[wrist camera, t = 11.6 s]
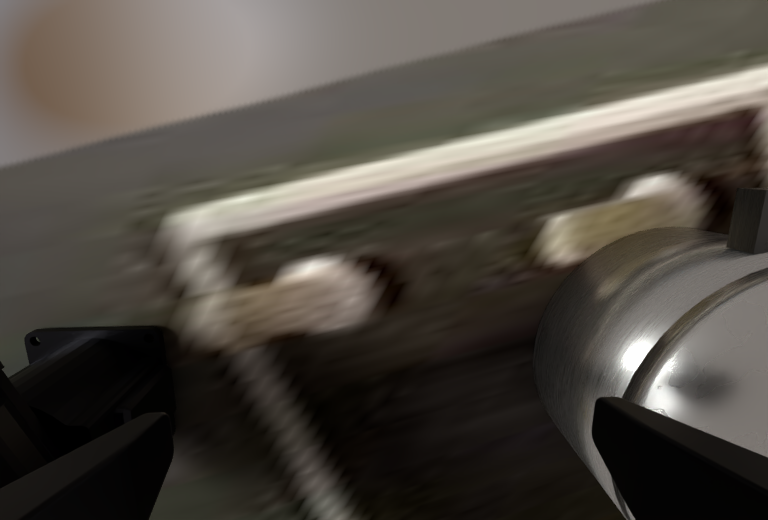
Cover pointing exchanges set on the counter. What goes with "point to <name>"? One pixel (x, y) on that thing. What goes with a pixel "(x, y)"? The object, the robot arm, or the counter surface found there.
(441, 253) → the counter surface
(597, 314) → the cooker pot
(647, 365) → the cooker lid
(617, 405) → the robot arm
